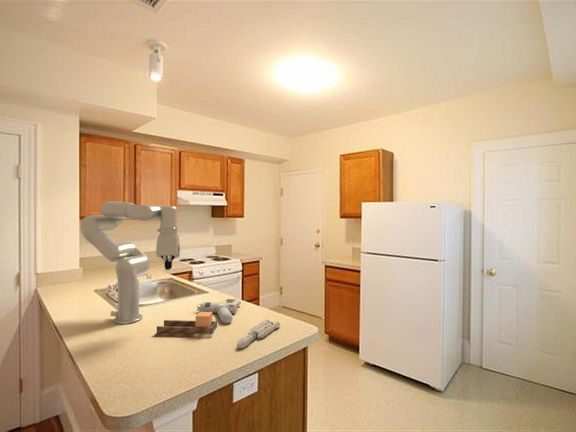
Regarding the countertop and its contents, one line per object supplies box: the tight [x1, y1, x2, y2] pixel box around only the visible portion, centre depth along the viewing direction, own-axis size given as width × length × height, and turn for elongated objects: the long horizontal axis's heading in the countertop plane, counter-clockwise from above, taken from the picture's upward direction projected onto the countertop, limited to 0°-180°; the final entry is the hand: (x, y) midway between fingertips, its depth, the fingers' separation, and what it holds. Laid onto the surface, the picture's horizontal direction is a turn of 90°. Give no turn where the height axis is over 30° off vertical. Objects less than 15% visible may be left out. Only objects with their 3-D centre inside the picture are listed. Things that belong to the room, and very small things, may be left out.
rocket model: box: [236, 319, 281, 350], centre depth 137 cm, size 9×4×30 cm
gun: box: [196, 298, 242, 325], centre depth 167 cm, size 6×29×30 cm
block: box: [195, 311, 213, 327], centre depth 141 cm, size 6×6×7 cm
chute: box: [154, 319, 219, 338], centre depth 141 cm, size 25×12×4 cm, turn 89°
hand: (168, 269), depth 149 cm, fingers closed
